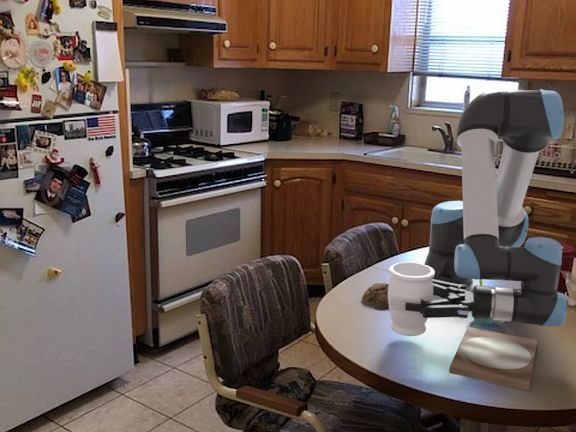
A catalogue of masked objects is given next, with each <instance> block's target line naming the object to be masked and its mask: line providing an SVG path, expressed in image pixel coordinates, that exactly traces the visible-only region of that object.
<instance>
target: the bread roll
mask: <svg viewBox="0 0 576 432" xmlns="http://www.w3.org/2000/svg"><path fill="white" fill-rule="evenodd" d="M388 285H389V283H386V282H385V283H384V282H382V283H381V282H378V283H373V284H372V285H371V286H369V287H368V288H367V289H366V290H365V292H364V293H363V295H362V297H361V298H362V299H361V301H362V302H363V304H365V305H369V306H371V307H373V309H374V310H375V309H376V310H377V311H378V310H379V311H383V310H384V311H386V310H389V303H388Z"/></svg>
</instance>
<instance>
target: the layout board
mask: <svg viewBox="0 0 576 432" xmlns="http://www.w3.org/2000/svg"><path fill="white" fill-rule="evenodd" d="M537 346H538V339H534V338H528V337H523V336H519V335H514V334H513V335H512V334H508V333H503V332H497V331H493V330H492V331H491V330H488V329H482V328H481V329H480V328H476V327H471V326H467V327H466V329H465V332H464V334H463V336H462V338H461V341H460V343H459V345H458V347H457V349H456V351H455V354H454V355H453V358H452V359H451V363H450V365H449V370H448V373H449V374H453V375H458V376H462V377H467V378H471V379H474V380H475V379H476V380H479V381H484V382H488V383H493V384H498V385H501V386H506V387H511V388H516V389H520V390H523V391H529V389H530V385H531V384H530V383H531V380H532V373H533V370H534V369H533V368H534V363H535V358H536V351H537V348H538V347H537Z"/></svg>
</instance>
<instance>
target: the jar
mask: <svg viewBox="0 0 576 432" xmlns="http://www.w3.org/2000/svg"><path fill="white" fill-rule="evenodd" d="M424 264H425V263H424ZM424 264H423V263H419V262H413V261H409V262H408V261H404V262H403V261H401V262H396V263H393V264H391V265H390V266H389V270H388V273H389V274H390V278H389V280H388V284H389V285H388V303H389V309H388V310H389V316H390V319H391V323H390V324H389V326H390V329H391V331H393V332H394V333H396V334H398V335H400V336H401V335H402V336H405V337H415V336H416V337H417V336H420V335H422V334H425V332H426V330H427V327H426V323H427V321H428V319H429V318H424V317H423V314H420V312H412V311H402V310H392V309H390V303H391V297H397V298H407V299H417V300H420V304H421V299H423V300H424V301H425V302H426V301H433V300H434V295H433V281H432V278H433V277H434V275H435V271H434V269H433V268H431V267H430V266H427V265H424Z"/></svg>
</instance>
